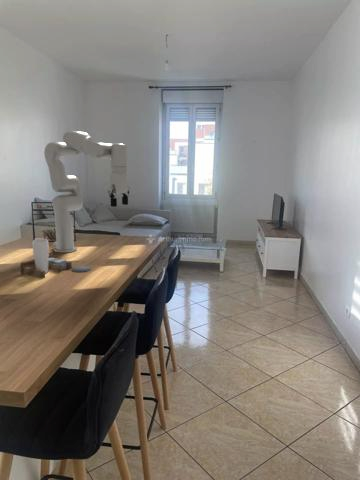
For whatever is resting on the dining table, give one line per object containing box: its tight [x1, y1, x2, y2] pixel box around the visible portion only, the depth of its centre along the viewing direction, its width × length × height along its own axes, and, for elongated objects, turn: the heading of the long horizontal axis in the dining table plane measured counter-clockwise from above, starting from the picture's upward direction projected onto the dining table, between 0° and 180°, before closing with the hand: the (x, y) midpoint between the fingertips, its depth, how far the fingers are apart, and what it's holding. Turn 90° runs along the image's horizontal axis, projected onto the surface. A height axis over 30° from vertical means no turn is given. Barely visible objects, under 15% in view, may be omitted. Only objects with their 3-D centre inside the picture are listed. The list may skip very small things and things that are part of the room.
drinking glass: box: [31, 238, 50, 274], centre depth 161 cm, size 7×7×15 cm
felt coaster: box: [70, 265, 92, 273], centre depth 168 cm, size 9×9×1 cm
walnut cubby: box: [20, 253, 73, 279], centre depth 164 cm, size 13×18×5 cm
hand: (119, 205), depth 174 cm, fingers open, 9 cm apart
